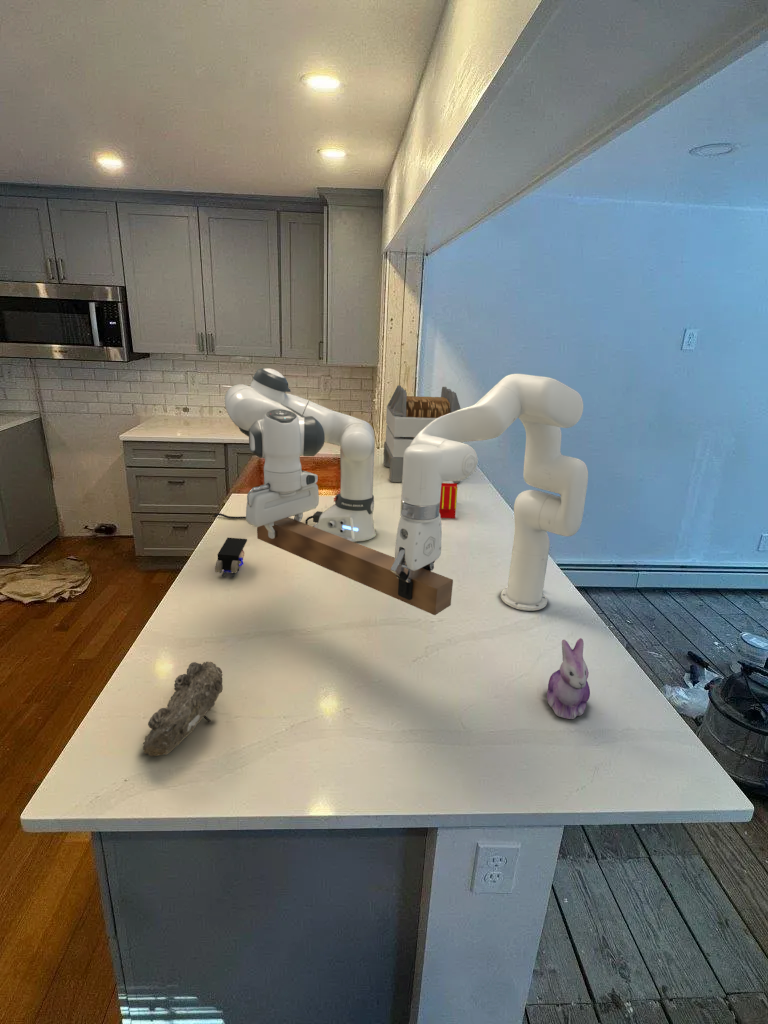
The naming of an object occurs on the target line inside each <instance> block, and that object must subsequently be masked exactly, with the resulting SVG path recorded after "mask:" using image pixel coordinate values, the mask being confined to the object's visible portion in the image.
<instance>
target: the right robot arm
mask: <svg viewBox="0 0 768 1024" xmlns="http://www.w3.org/2000/svg"><path fill="white" fill-rule="evenodd" d="M583 412H584V401H583V398H582V395H581V394H580V393H579V392H578V391H577V390H575V389H574V388H572V387H570V386H568V385H567V384H565V383H564V382H561V381H560V380H558V379H555V378H554V377H553V378H552V377H549V376H541V375H533V374H527V373H511V374H507V375H505V376H504V377H503V378H501V379H500V380H499V381H498V382H497V383H496V384H495V385H494V386H492V388H491V389H489V391H487V392H486V393H485V394H484V395H483V396H482V397H481V398H480V399H478V401H477V402H476V403H475V404H472V405H470V406H466V407H463V408H461V409H460V410H457V411H455V412H452V413H449V414H446V415H444V416H441V417H439V418H437V419H435V420H434V421H432V422H431V423H429V424H428V425H427V426H426V427H425V428H424V429H423V430H422V431H420V432H419V433H418V434H417V436H416V437H415V438H414V439H413V441H412V442H411V444H410V446H409V447H408V448H406V450H405V452H404V458H403V475H402V482H401V498H400V512H399V513H400V514H399V515H400V517H399V521H398V526H397V530H396V538H395V545H394V546H395V547H394V557H395V561H394V563H393V565H392V567H391V571H392V572H393V573H394V574H395V575H396V576H397V579H399V583H398V595H399V596H401V597H403V598H405V599H408V600H411V599H412V591H413V582H412V581H411V579H412V575H413V572H414V571H415V570H418V569H420V568H424V569H426V570H429V571H431V572H433V570H434V569H435V563H436V561H437V560H438V559H440V557H441V555H442V537H443V536H442V534H443V532H442V531H443V530H442V518H441V517H440V513H439V509H440V496H441V484H442V482H446V481H460V482H461V481H463V480H466V479H468V478H469V477H471V476H472V475H473V474H474V472H476V469H477V466H478V461H479V459H478V454H477V452H476V450H475V449H474V448H473V447H472V446H471V445H470V444H467V442H468V443H469V442H479V441H480V442H481V441H488V440H493V439H496V438H499V437H500V436H502V434H503V433H504V432H505V431H506V430H507V429H508V428H510V426H511V425H512V424H513V423H514V422H515V421H516V420H517V419H519V421H520V422H521V424H522V426H523V428H524V431H525V447H524V458H523V459H524V460H523V472H522V473H523V481H524V482H525V484H527V485H529V486H530V487H533V488H536V489H537V490H536V489H526V490H523V491H521V492H520V493H519V494H517V496H516V498H515V500H514V503H513V516H514V517H513V518H514V519H513V520H514V532H513V533H514V534H513V542H512V550H511V558H510V565H509V572H508V573H509V574H508V581H507V586H506V587H505V588H503V589H502V590H501V592H500V599H501V601H502V602H503V603H504V604H506V605H507V606H509V607H511V608H513V609H516V610H521V611H528V612H532V611H533V612H534V611H539V610H542V609H544V608H545V607H546V606H547V605H548V597H547V596H546V594H544V586H545V579H546V574H547V573H546V572H547V567H548V559H549V555H550V554H549V553H550V547H551V544H550V543H551V542H550V537H549V534H548V533H551V534H555V535H558V536H561V537H567V538H568V537H569V538H570V537H572V536H575V535H576V534H577V533H578V532H579V530H580V528H581V526H582V524H583V523H582V522H583V518H584V511H585V504H586V499H587V498H586V497H587V491H588V483H589V470H588V466H587V464H586V463H585V461H583V460H582V459H580V458H577V457H574V456H570V455H564V454H562V451H561V449H562V436H563V435H562V430H561V429H562V428H563V429H569V428H572V427H574V426H575V425H577V424H578V423H579V421H580V420H581V418H582V416H583ZM461 442H463V443H461ZM538 489H539V490H538ZM541 490H543V491H541ZM545 491H547V492H545ZM553 493H554V494H553ZM555 494H557V495H555ZM559 495H560V496H559ZM405 563H406V564H405ZM405 568H406V569H409V570H408V573H407V574H406V573H405V572H404V569H405Z"/></svg>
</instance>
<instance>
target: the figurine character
mask: <svg viewBox="0 0 768 1024" xmlns="http://www.w3.org/2000/svg"><path fill="white" fill-rule="evenodd" d="M247 542H248V538H240V537H226V539H225V541H224V543H223V544H222V546H221V547H220V549H219V551H218V552H217V560H216V562H215V564H214V572H215V573H221V577H222V578H224V577H225V576H226V574H227V573H230V574H231V573H232V574H231V578H234V577H235V575H236V573H237V572H239V571H240V567H242V566H243V565H244V564H245V562H244V558H245V551H244V547H245V546H246V544H247Z"/></svg>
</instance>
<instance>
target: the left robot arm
mask: <svg viewBox="0 0 768 1024" xmlns="http://www.w3.org/2000/svg"><path fill="white" fill-rule="evenodd" d="M291 392H292V390H291V389H290V388H289V382H288V380H287V377H285V376H284V375H283V374H282V373H281V372H279V371H278V370H276V369H273V368H269V367H266V368H265V367H262V368H258V369H257V370H256V372H255V373H254V375H253V376H252V380H251V382H250V385H247V384H242V383H238V384H234V385H232V386H231V387H229V388H228V390H227V391H226V393H225V394H224V395H225V396H224V407H225V410H226V413H227V415H228V416H229V418H230V420H231V421H232V423H233V424H234V425H235V426H236V427H238V429H239V431H240V432H241V433H242V434H244V435H245V436H246V437H248V447H249V451H250V452H251V453H252V454H253V455H254V456H256V457H258V458H259V459H264V464H263V484H261V485H259V486H254V487H252V488H251V489H250V490H249V491H248V493H247V495H246V507H245V516H229V515H226V514H224V513H221V512H219V513H215V514H214V515H213V518H216V517H217V516H220V517H223V518H226V519H231V520H245V522H247V524H248V525H250V526H252V527H254V528H257V527H259V526H262V525H264V526H265V527H266V529H267V530H268V536H269V538H271V539H273V538H276V537H277V536H278V535H277V531H276V530H274V529H273V527H272V526H274V522H275V521H278V520H281V519H284V518H288V517H289V518H292V517H293V516H294V517H293V519H294V520H297V521H300V522H302V519H303V517H304V513H307V512H309V511H312V510H315V509H317V507H318V506H319V503H320V502H319V501H320V494H319V493H320V492H319V486H318V480H319V477H318V474H316V473H313V472H310V471H307V470H302V463H301V457H315V456H316V455H317V454H319V452H320V451H321V449H322V448H323V447H324V445H325V443H326V444H330V445H334V446H337V447H339V456H340V457H339V458H340V459H339V460H340V462H339V463H340V490H339V491H338V492H337V494H336V495H335V496H334V497H333V502H334V504H333V505H331V506H329V507H328V508H326V509H325V510H323V511H321V510H317V511H316V512H314V514H312V515H310V516H308V517H307V518H306V519H305V521H304V523H305V524H307V525H308V521H309V520H311V519H312V523H315V524H314V525H313V527H315V528H318V529H321V530H323V531H326V532H329V533H331V534H334V535H336V536H339V537H342V538H344V539H347V540H350V541H352V542H355V543H357V542H365V541H368V540H372V539H373V538H375V537H376V535H377V532H376V528H375V523H374V513H373V512H374V509H375V496H374V474H375V473H374V472H375V471H374V470H375V469H374V468H375V446H376V445H375V444H376V443H375V442H376V437H375V435H376V433H375V430H374V428H373V426H372V425H371V424H370V423H369V422H368V421H366V420H364V419H360V418H358V417H355V416H352V415H349V414H346V413H343V412H339V411H335V410H333V409H330V408H328V407H326V406H323V405H321V404H318V403H316V402H314V401H312V400H309V399H307V398H304V397H301V396H299V395H296V394H292V393H291Z"/></svg>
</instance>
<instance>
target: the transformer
mask: <svg viewBox="0 0 768 1024" xmlns="http://www.w3.org/2000/svg"><path fill="white" fill-rule="evenodd" d="M440 393H441V394H440V396H415V395H414V396H413V395H412V396H411V395H407V394H408V393H407V390H406V389H404V388H403V387H402V385H399V384H398V385H397V386H396V388H395V390H394V392H393V394H392V395H391V398H390V400H389V402H388V404H387V405H386V413H385V414H386V415H385V423H386V428H385V438H384V442H383V466H384V467H388V468H389V475H388V476H389V477H388V478H389V480H390V482H391V483H402V476H403V458H404V452H405V450H406V448H408V447H409V446H410V444H411V442H412V441H413V439H414V438H415V437H416V436H417V434H418V433H419V432H420V431H422V430H423V429H424V428H425V427H426V426H427V425H428V424H429V423H431V422H432V421H434V420H435V419H437V418H439V417H441V416H444V415H446V414H449V413H452V412H455V411H457V410H460V409H462V408H461V405H460V402H459V398H458V395H457V392H455V391H453V390H452V389H451V388H447V386H442V387H441V392H440ZM461 443H464V442H461ZM452 482H453V483H454V484H459V483H461V480H460V481H452Z"/></svg>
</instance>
